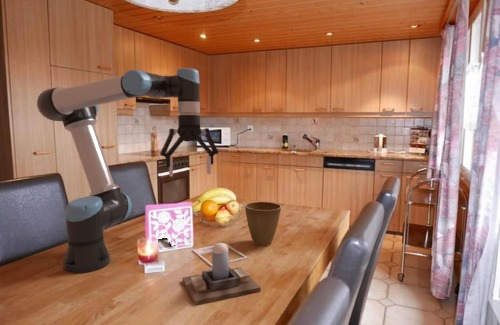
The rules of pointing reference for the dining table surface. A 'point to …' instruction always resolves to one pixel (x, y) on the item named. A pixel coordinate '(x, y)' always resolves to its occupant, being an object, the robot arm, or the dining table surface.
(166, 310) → the dining table surface
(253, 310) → the dining table surface
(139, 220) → the dining table surface
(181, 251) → the dining table surface
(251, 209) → the plant pot
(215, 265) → the grey cylinder bottle
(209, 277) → the jig board
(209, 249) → the photo frame
